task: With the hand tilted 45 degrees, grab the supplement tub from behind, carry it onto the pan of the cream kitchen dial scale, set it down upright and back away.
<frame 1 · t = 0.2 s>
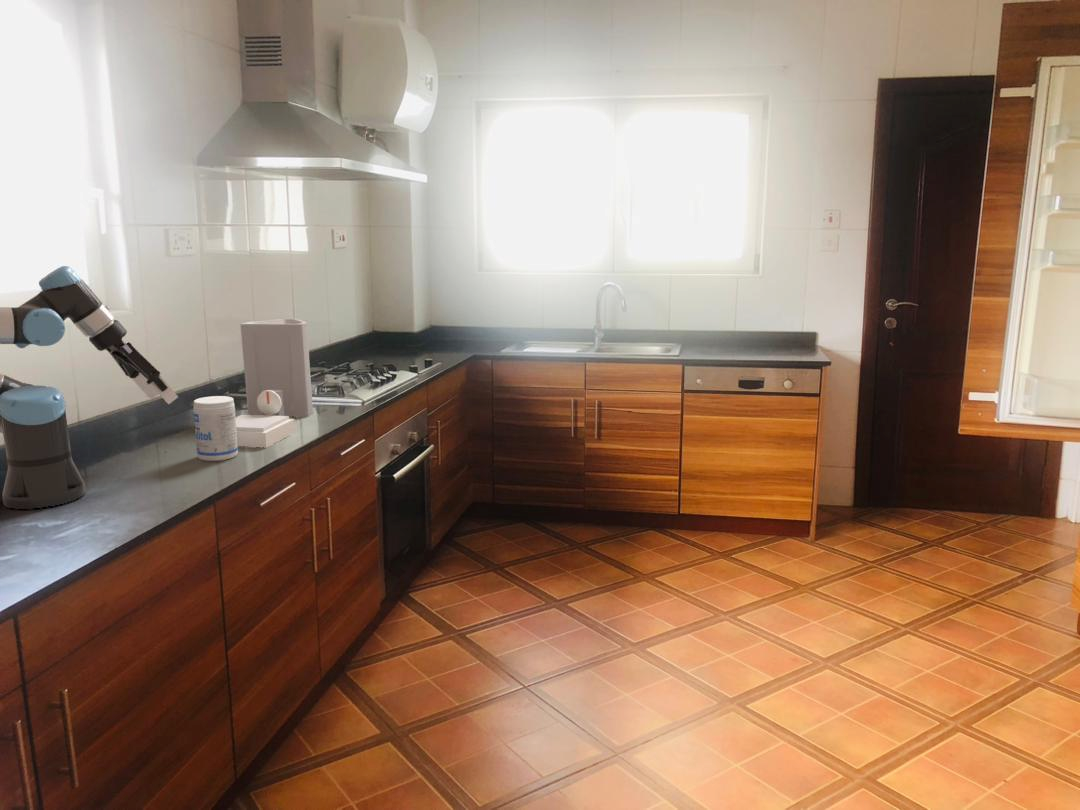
hand: (164, 398, 201), 16 cm above the worktop, tool tilted 35°, fingers open, 13 cm apart
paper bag: (287, 411, 259), on the worktop
supplement tub: (218, 457, 208), on the worktop
kitchen scale: (253, 439, 225), on the worktop
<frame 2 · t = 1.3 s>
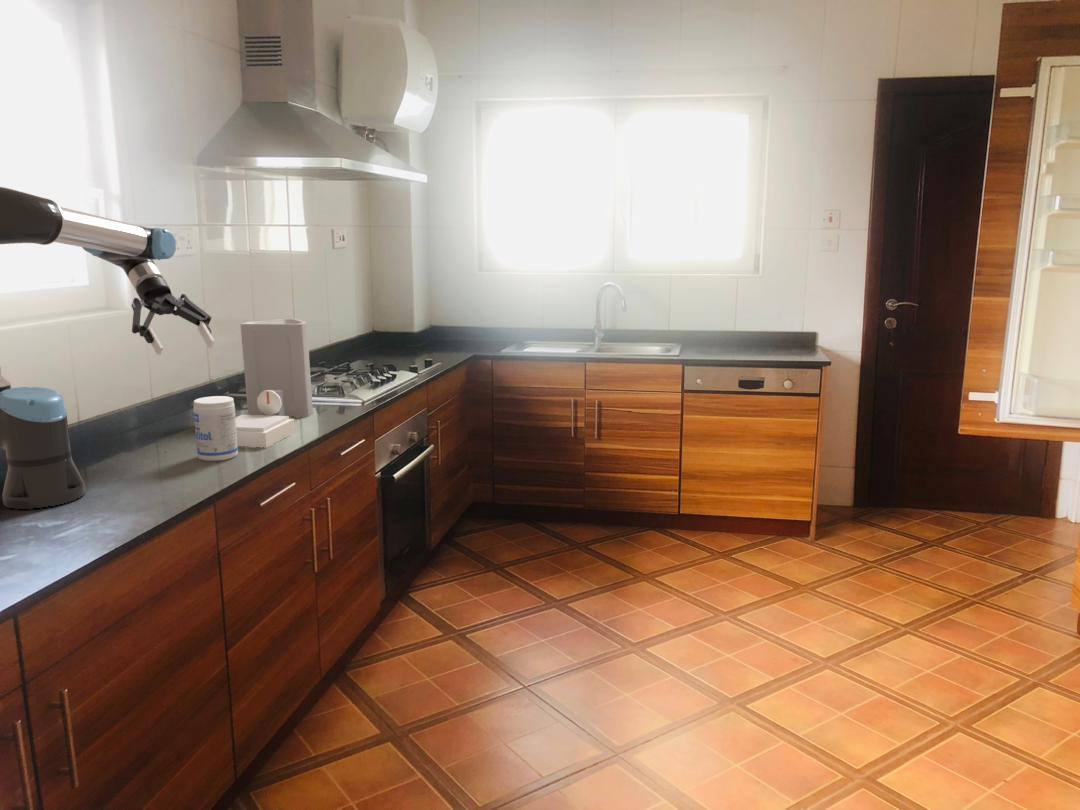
hand: (186, 347, 209), 27 cm above the worktop, tool tilted 45°, fingers open, 13 cm apart
nothing on the worktop moved.
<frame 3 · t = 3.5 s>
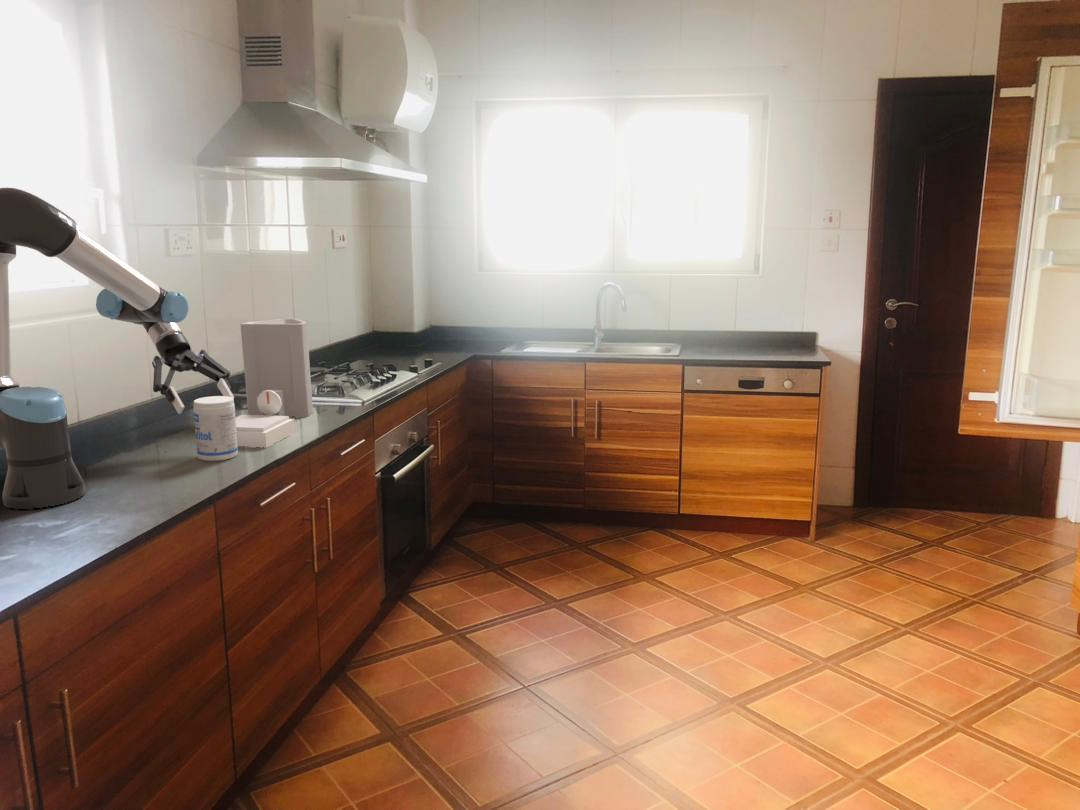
hand: (207, 405, 210), 12 cm above the worktop, tool tilted 45°, fingers open, 13 cm apart
nothing on the worktop moved.
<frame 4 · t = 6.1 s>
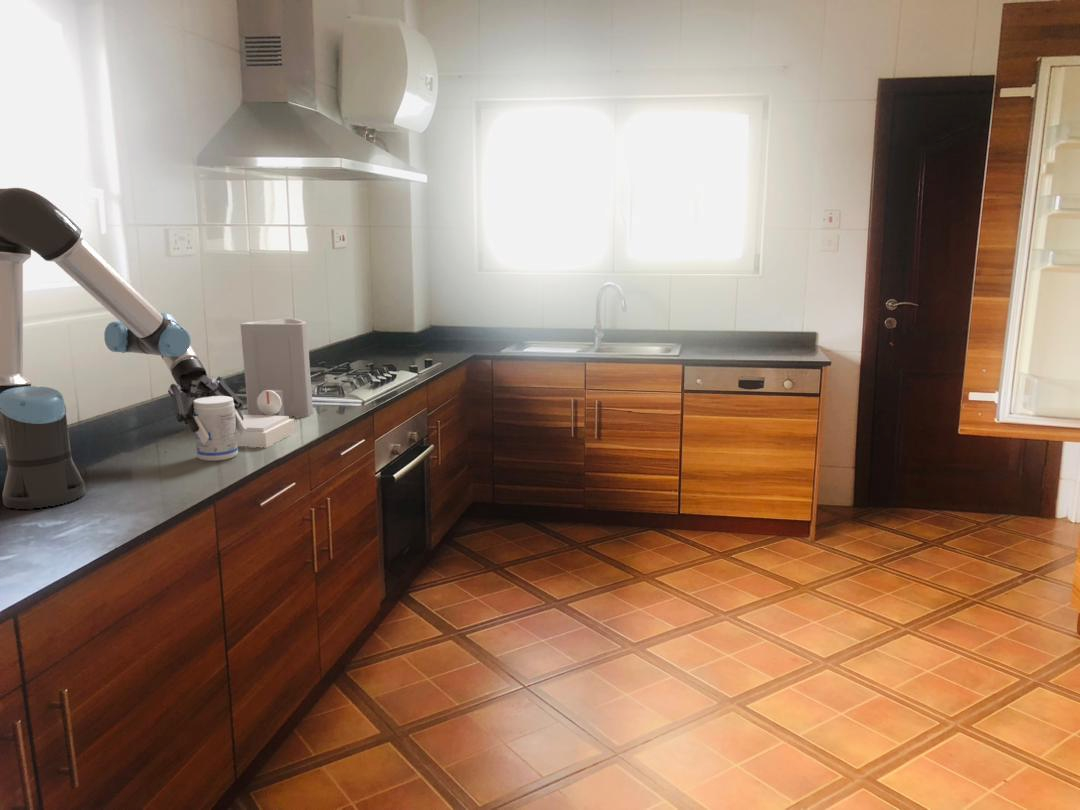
hand: (225, 436, 204), 6 cm above the worktop, tool tilted 45°, fingers closed on supplement tub, 9 cm apart
supplement tub: (218, 457, 208), on the worktop, touching gripper
everything else where it was.
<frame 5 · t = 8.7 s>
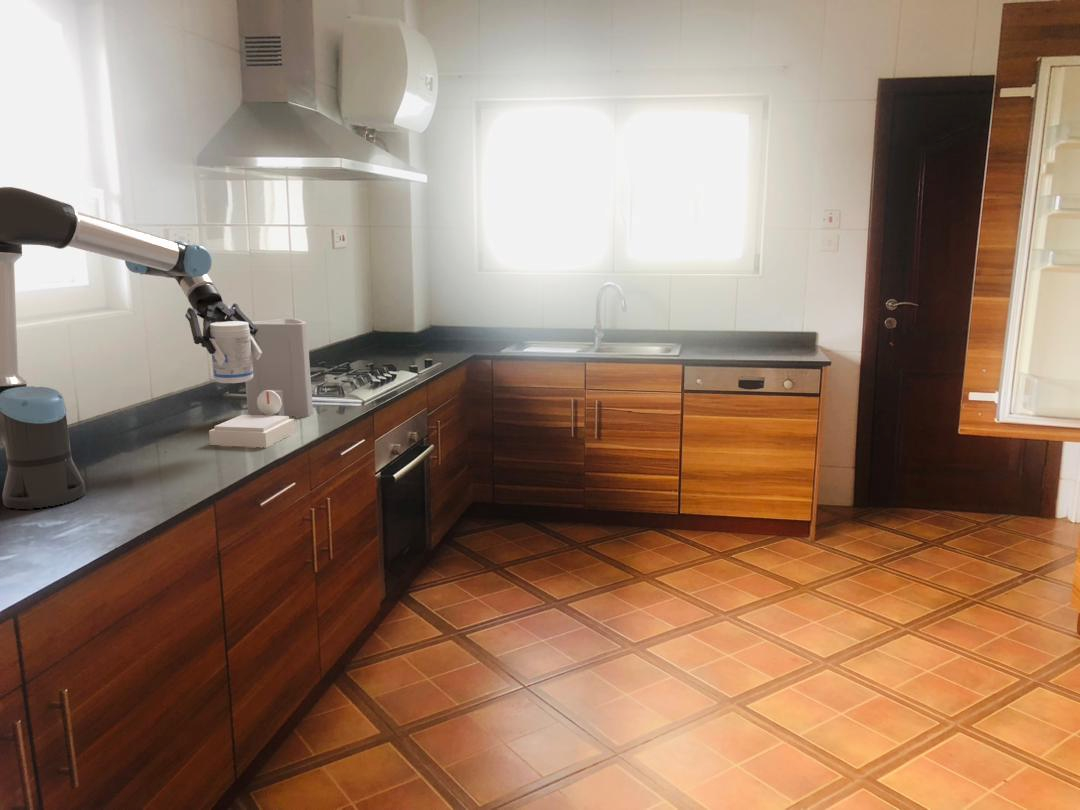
hand: (241, 359, 210), 24 cm above the worktop, tool tilted 45°, fingers closed on supplement tub, 9 cm apart
supplement tub: (234, 381, 214), point 17 cm above the worktop, touching gripper
everything else where it was.
when the fingers open (12 cm above the worktop, at t = 11.5 s): supplement tub drops 1 cm, resting on kitchen scale.
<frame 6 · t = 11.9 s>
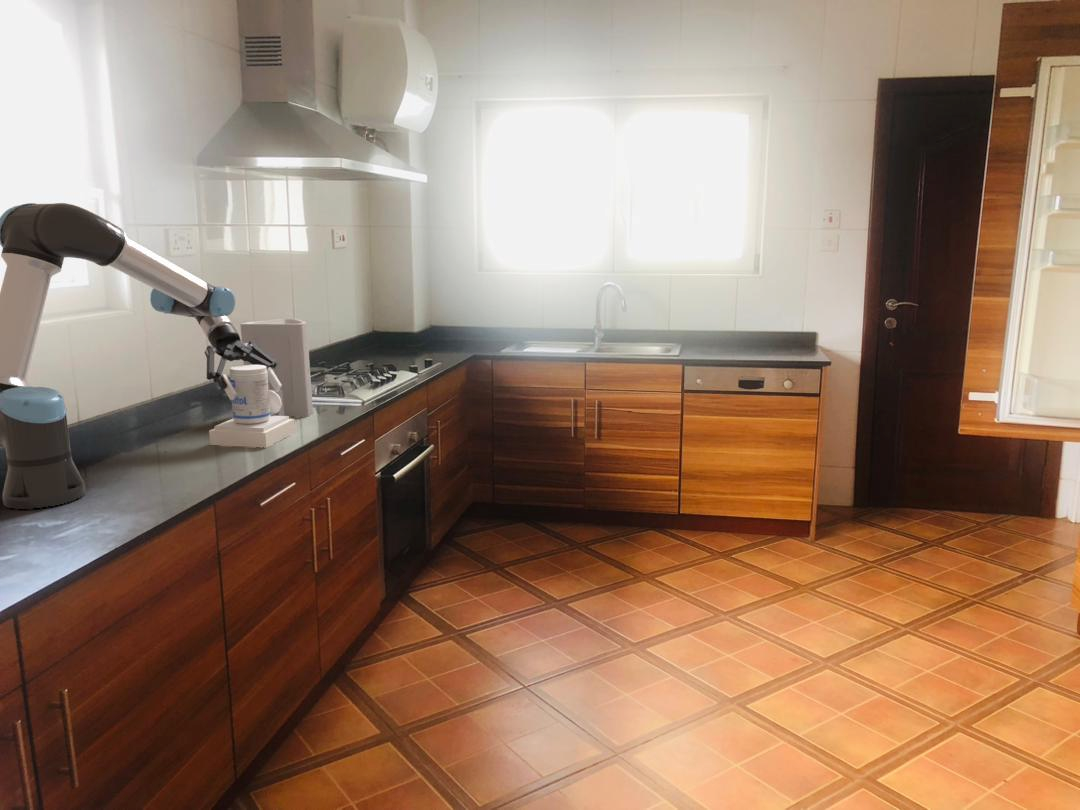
hand: (256, 392, 220), 13 cm above the worktop, tool tilted 45°, fingers open, 13 cm apart
supplement tub: (252, 421, 224), point 5 cm above the worktop, touching kitchen scale
everything else where it was.
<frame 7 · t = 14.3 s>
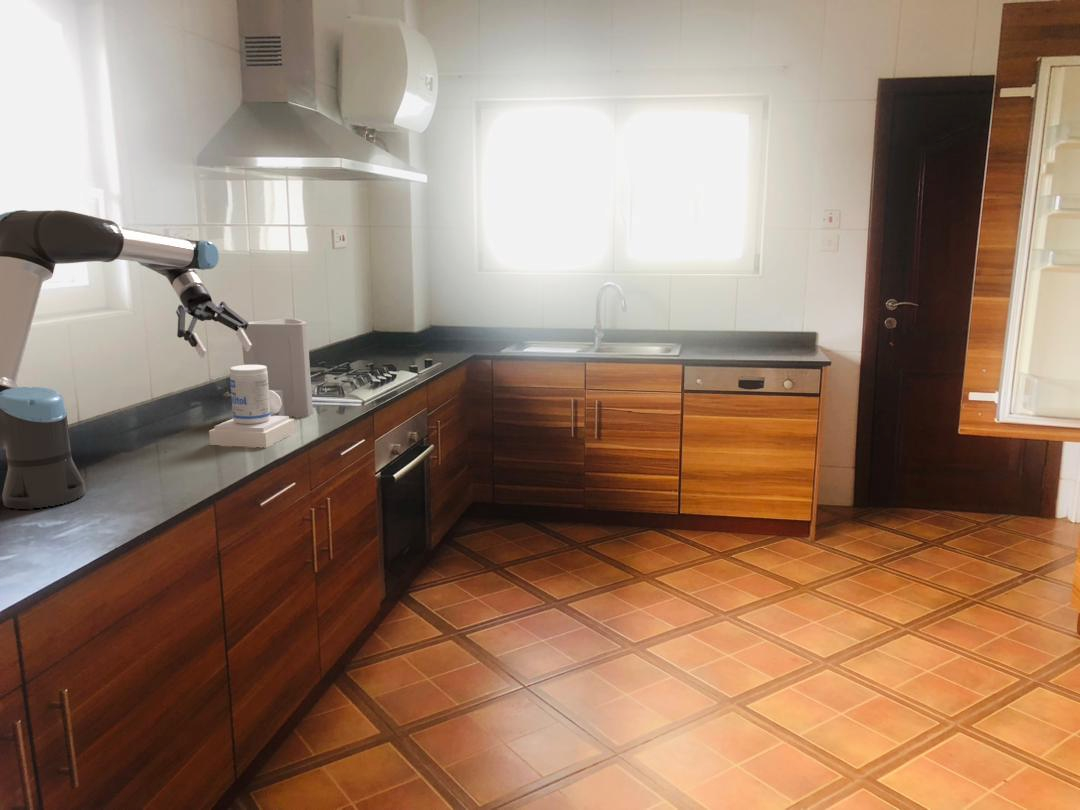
hand: (227, 351, 226), 23 cm above the worktop, tool tilted 45°, fingers open, 13 cm apart
nothing on the worktop moved.
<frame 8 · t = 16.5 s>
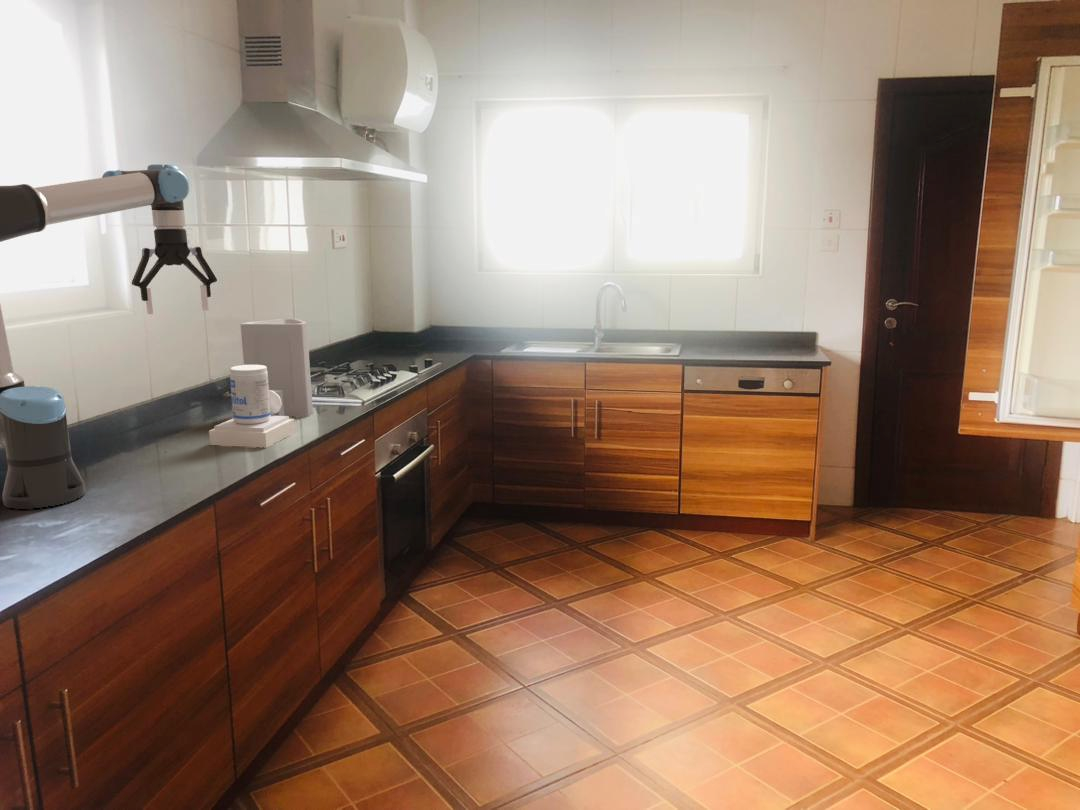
hand: (178, 312, 216), 35 cm above the worktop, tool pointing down, fingers open, 13 cm apart
nothing on the worktop moved.
at the end: supplement tub inside the target area on the kitchen scale (0.1 cm from its centre), point 4.8 cm above the kitchen scale's base; supplement tub tilted 0°; the gripper is holding nothing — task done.
